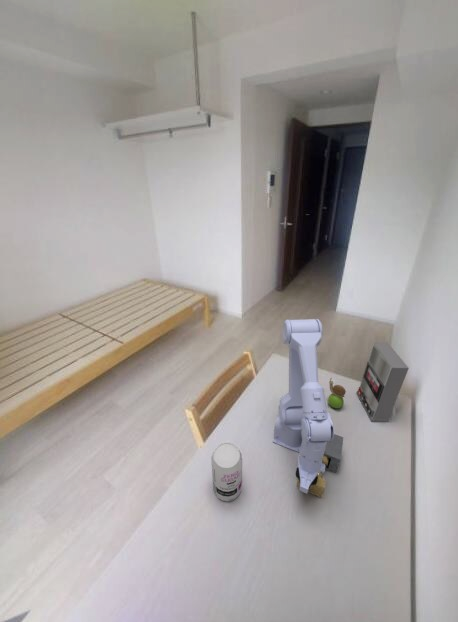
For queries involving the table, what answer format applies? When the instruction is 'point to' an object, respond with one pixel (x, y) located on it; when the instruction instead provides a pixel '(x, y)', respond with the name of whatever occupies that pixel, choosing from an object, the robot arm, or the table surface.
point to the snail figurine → (336, 395)
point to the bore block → (333, 453)
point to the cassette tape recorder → (381, 382)
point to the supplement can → (227, 471)
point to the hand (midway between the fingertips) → (305, 481)
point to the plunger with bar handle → (318, 482)
